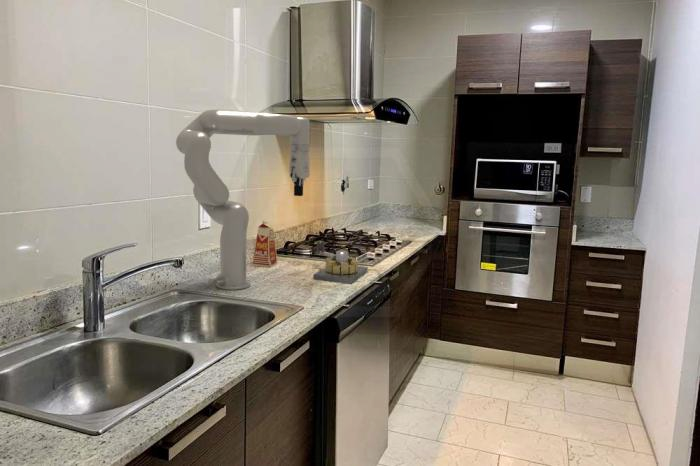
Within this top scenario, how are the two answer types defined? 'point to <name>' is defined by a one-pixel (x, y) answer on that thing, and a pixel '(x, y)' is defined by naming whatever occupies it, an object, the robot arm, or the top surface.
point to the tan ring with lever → (331, 262)
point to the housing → (340, 278)
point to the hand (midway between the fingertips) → (298, 195)
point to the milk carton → (265, 247)
